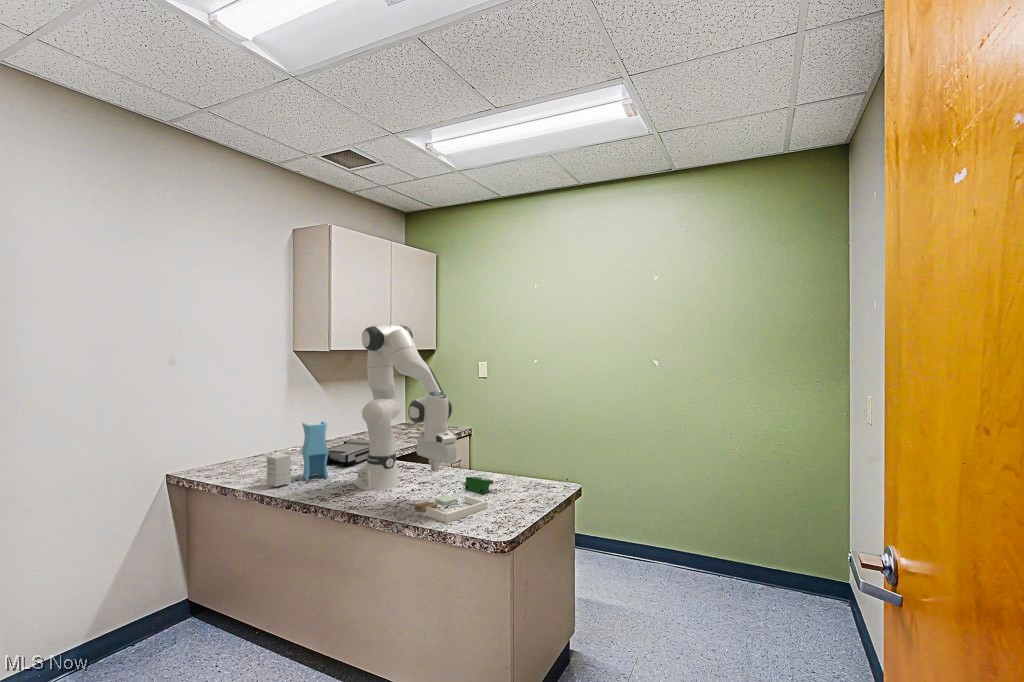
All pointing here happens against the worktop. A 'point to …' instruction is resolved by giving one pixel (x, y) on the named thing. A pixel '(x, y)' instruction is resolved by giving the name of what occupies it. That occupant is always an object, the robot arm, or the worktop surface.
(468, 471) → the worktop surface
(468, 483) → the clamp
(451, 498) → the sage tile
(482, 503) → the white u-shaped frame
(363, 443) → the game console
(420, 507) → the walnut tile
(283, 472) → the supplement box
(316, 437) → the blue toy chair
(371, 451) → the robot arm
